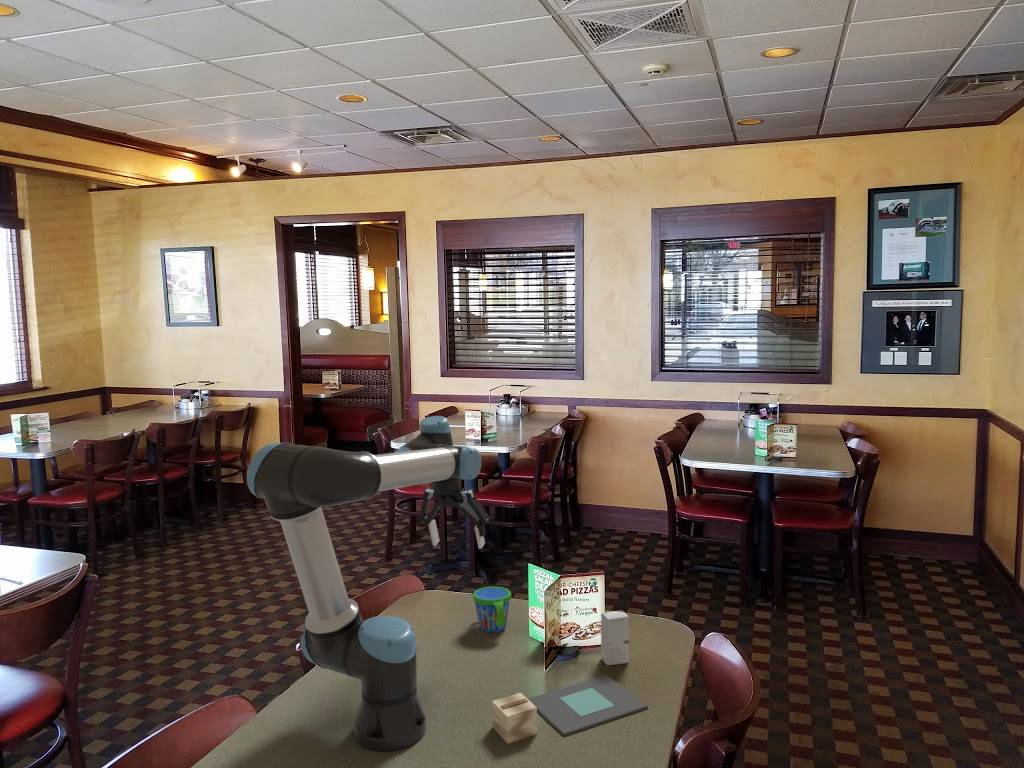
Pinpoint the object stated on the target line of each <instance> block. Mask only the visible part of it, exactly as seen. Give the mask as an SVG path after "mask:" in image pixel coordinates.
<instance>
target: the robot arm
mask: <svg viewBox="0 0 1024 768" xmlns="http://www.w3.org/2000/svg"><path fill="white" fill-rule="evenodd" d="M449 423H450V422H449V420H448V419H447V418H446V417H445V416H442V415H433V416H429V417H426V418H423V419H422V420H421V421H420V423H419V426H418V427H419V434H417V436H415V437H414V438H412V439H411V440H409V441H408V442H406V443H405V444H404V445H401V446H400V447H399V448H398V449H396V451H394V452H390V453H389V452H387V453H382V454H381V453H380V454H372V453H370V452H369V451H365V450H364V451H346V450H340V449H334V448H333V449H332V448H329V447H323V446H322V447H321V446H312V445H311V446H310V445H304V444H295V443H293V444H292V443H291V442H288V441H286V442H285V441H284V442H271V443H268V444H266V445H264V446H262V447H260V448H259V449H258V450H257V451H256V452H255V454H254V455H253V457H251V462H250V464H248V467H247V472H246V484H247V487H248V489H249V491H250V493H251V494H252V495H254V496H255V497H256V498H257V499H261V500H264V502H265V505H266V509H267V511H268V513H269V516H270V518H271V519H272V520H274V521H277V522H279V523H280V526H281V529H282V531H283V536H284V538H285V542H286V544H287V548H288V550H289V554H290V557H291V560H292V563H293V566H294V569H295V573H296V576H297V580H298V582H299V584H300V585H299V586H300V588H301V591H302V594H303V597H304V602H305V604H306V607H307V610H308V614H307V615H306V617H305V622H304V624H303V627H302V630H301V631H302V632H303V634H302V635H301V636H300V646H301V650H302V653H303V655H304V656H305V658H306V659H307V661H308V662H310V663H312V664H314V665H316V666H317V667H319V668H322V669H325V670H330V671H332V672H335V673H338V674H341V675H345V676H348V677H351V678H354V679H358V680H359V681H360V689H361V690H360V691H361V700H360V703H359V707H358V709H357V714H356V716H355V721H354V725H353V727H354V729H353V730H354V738H355V741H356V742H357V743H358V745H360V746H361V747H364V748H365V749H368V750H371V751H372V750H373V751H376V752H387V751H388V752H390V751H396V750H397V751H398V750H401V749H404V748H407V747H409V746H412V745H413V744H415V743H417V742H419V741H420V740H421V738H422V737H423V736H424V735H425V733H426V731H427V717H426V713H425V710H424V707H423V704H422V702H421V700H420V697H419V695H418V683H417V682H418V681H417V680H418V679H417V678H418V677H417V676H418V675H417V650H418V649H417V642H416V634H415V630H414V628H413V626H412V625H411V624H410V623H409V622H408V621H407V620H405V619H402V618H400V617H396V616H392V615H387V616H384V615H379V616H378V615H377V616H372V617H370V618H368V619H366V620H364V619H363V618H362V615H361V611H360V608H359V604H358V602H357V601H355V599H352V598H350V597H349V596H348V593H347V589H346V586H345V582H344V580H343V576H342V573H341V569H340V567H339V562H338V559H337V556H336V552H335V548H334V545H333V543H332V539H331V536H330V532H329V529H328V526H327V522H326V518H325V515H324V511H323V508H324V507H325V508H326V507H327V508H328V507H333V506H339V505H344V504H349V503H353V502H358V501H364V500H369V499H371V498H373V497H375V496H376V495H377V494H378V493H380V492H384V491H389V490H396V489H401V488H406V487H412V486H417V485H423V484H428V483H431V487H427V488H426V489H425V490H424V491H423V493H422V496H423V500H422V503H421V508H420V511H419V513H418V517H417V521H418V522H420V523H422V522H423V523H424V524H425V527H426V530H427V531H426V532H427V534H429V535H430V537H431V538H430V539H431V543H432V546H433V547H436V546H437V544H438V543H439V542H440V541H441V540H440V536H439V530H438V527H437V523H436V519H434V517H435V515H436V514H437V512H438V511H439V509H441V506H443V507H444V508H448V507H449V508H453V509H454V508H456V509H457V510H459V511H461V512H462V513H463V514H464V515H465V516H466V517H468V519H469V520H470V521H472V523H474V525H475V526H474V531H475V537H476V542H477V548H478V549H479V550H480V549H481V550H482V548H483V547H484V545H485V544H486V541H485V537H484V536H485V535H486V527H485V526H486V525H487V524H488V523H489V522H490V520H491V517H490V515H489V514H488V513H487V511H486V510H485V508H484V507H483V505H482V504H481V502H479V500H478V498H477V497H476V495H475V491H474V489H472V488H470V489H469V490H463V489H462V481H461V480H473V479H475V478H477V477H478V475H479V473H480V472H481V468H482V456H481V455H482V454H481V453H480V452H479V450H478V449H476V448H475V447H469V446H466V445H464V446H462V445H454V443H453V436H452V429H451V427H450V424H449ZM431 488H432V489H431ZM433 497H434V499H435V500H437V501H436V503H435V504H434V506H433V507H432V508H431V511H430V512H429V514H428V510H429V507H430V503H431V500H432V498H433ZM427 514H428V515H427Z"/></svg>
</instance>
